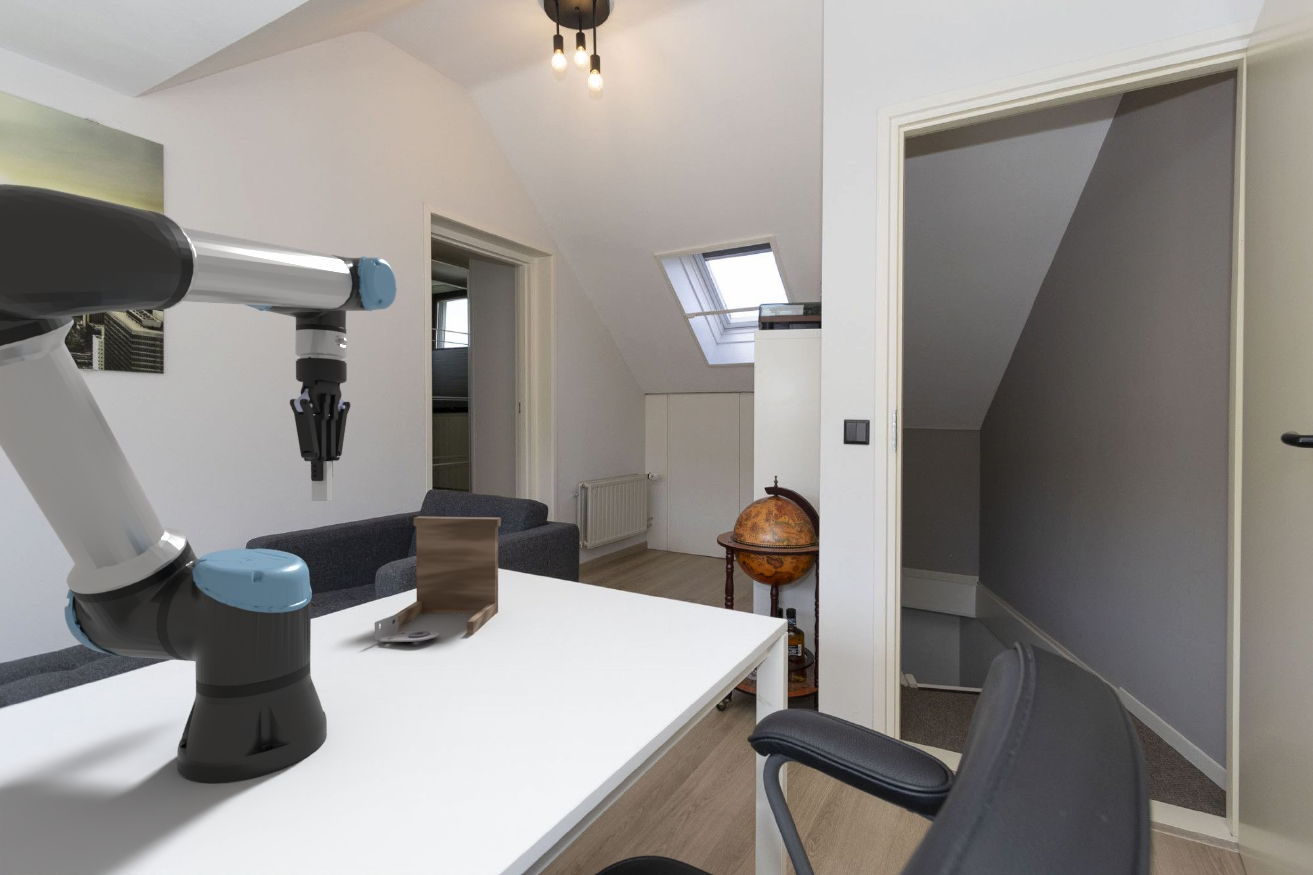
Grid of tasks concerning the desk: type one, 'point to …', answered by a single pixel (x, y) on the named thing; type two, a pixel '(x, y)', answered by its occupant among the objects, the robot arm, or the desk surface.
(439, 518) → the wooden l-shaped stand
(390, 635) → the bracket
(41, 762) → the desk surface
